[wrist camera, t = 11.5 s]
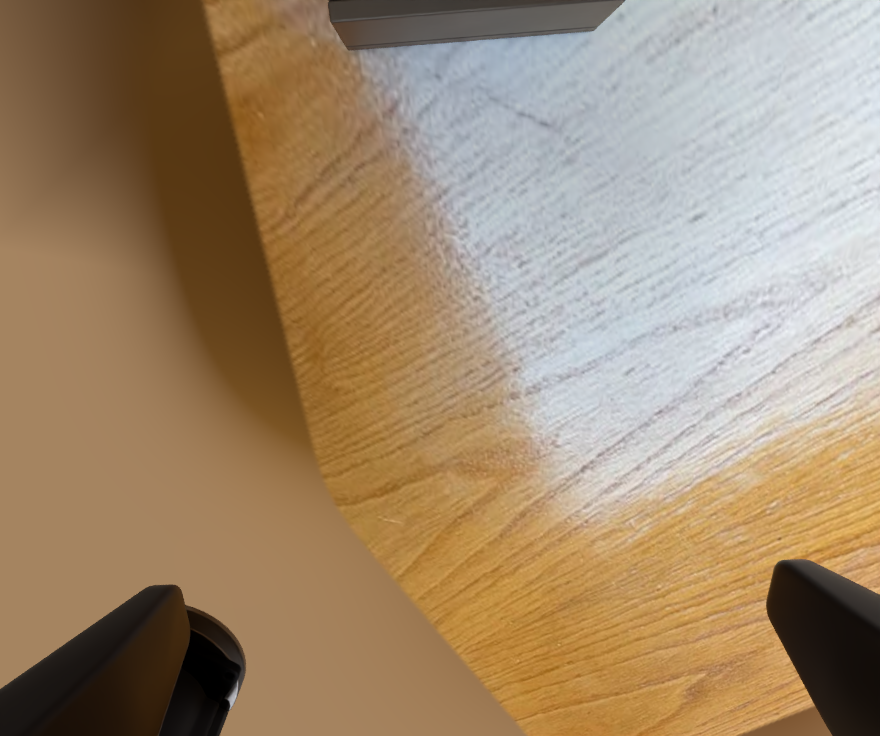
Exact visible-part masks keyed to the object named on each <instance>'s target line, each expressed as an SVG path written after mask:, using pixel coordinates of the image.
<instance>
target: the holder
mask: <svg viewBox="0 0 880 736" xmlns="http://www.w3.org/2000/svg"><path fill="white" fill-rule="evenodd" d="M328 1H329V2H328V8H329V16H330V22H331V23H332V25H333V27H334V28H335V30H336V32H337V33H338V35H339V36H340V38H341V40H342V41H343V43H344V45H345V46H346V48H347V49H348V50H360V49H373V48H386V47H398V46H411V45H423V44H436V43H449V42H461V41H474V40H486V39H499V38H512V37H524V36H537V35H549V34H562V33H575V32H587V31H594V30H595V29H596V28H597V27H598V26H599V25H600V24H601V23H602V22H603V21H604V20H605V19H606V18H607V17H609V16H610V15H611V14H612V13H613V12H614V11H615V10H616V9H617V8H618V7H619V6H620V5H621V4H622V3H623V2H624V1H625V0H328Z"/></svg>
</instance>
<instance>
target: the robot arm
mask: <svg viewBox="0 0 880 736" xmlns="http://www.w3.org/2000/svg"><path fill="white" fill-rule="evenodd" d="M766 608H767V614H768V617H769V619H770V621H771V623H772V625H773V627H774V629H775V631H776V633H777V635H778V637H779V639H780V640H781V642H782V644H783V646H784V648H785V650H786V652H787V654H788V655H789V657H790V659H791V661H792V663H793V665H794V667H795V669H796V670H797V672H798V674H799V676H800V678H801V680H802V682H803V684H804V685H805V687H806V689H807V691H808V693H809V695H810V697H811V699H812V701H813V702H814V704H815V706H816V708H817V710H818V711H819V713H820V715H821V717H822V719H823V720H824V722H825V724H826V726H827V727H828V729H829V730H830V732H831V734H832V735H833V736H880V595H879V594H877V593H875V592H873V591H871V590H869V589H867V588H865V587H863V586H861V585H859V584H857V583H855V582H853V581H851V580H849V579H847V578H845V577H843V576H841V575H839V574H837V573H835V572H832V571H830V570H828V569H826V568H824V567H822V566H820V565H818V564H816V563H814V562H812V561H810V560H805V559H794V560H781V561H779V562H778V563H777V564H776V565H775V567H774V571H773V575H772V579H771V584H770V588H769V592H768V597H767V602H766ZM189 640H190V624H189V620H188V616H187V611H186V607H185V603H184V599H183V594H182V591H181V589H180V588H179V587H178V586H176V585H154V586H149V587H147V588H145V589H144V590H142V591H141V592H139V593H138V594H136V595H135V596H133V597H132V598H131V599H129V600H128V601H126V602H125V603H124V604H122V605H121V606H119V607H118V608H116V609H115V610H113V611H112V612H110V613H109V614H108V615H106V616H105V617H103V618H102V619H100V620H99V621H98V622H96V623H95V624H93V625H92V626H90V627H89V628H88V629H86V630H85V631H83V632H82V633H80V634H79V635H77V636H76V637H74V638H73V639H72V640H70V641H69V642H67V643H66V644H65V645H63V646H62V647H60V648H59V649H57V650H56V651H54V652H53V653H51V654H50V655H49V656H47V657H46V658H44V659H43V660H41V661H40V662H39V663H37V664H36V665H34V666H33V667H31V668H30V669H28V670H27V671H26V672H24V673H23V674H21V675H20V676H18V677H17V678H16V679H14V680H13V681H11V682H10V683H9V684H7V685H5V686H4V687H3V688H1V689H0V736H219V735H220V733H221V730H222V727H223V725H224V722H225V720H226V717H227V714H228V712H229V709H230V702H229V700H227V699H225V696H226V695H227V694H228V692H229V691H230V690H231V688H232V687H233V686H234V684H235V683H236V682H237V680H238V678H239V676H240V673H241V671H242V669H241V667H240V665H239V664H237V663H235V662H233V661H231V660H229V659H227V658H224V657H222V656H220V655H218V654H216V653H213V652H211V651H209V650H207V649H205V648H202V647H200V646H198V645H196V644H194V643H191V642H189Z"/></svg>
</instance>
